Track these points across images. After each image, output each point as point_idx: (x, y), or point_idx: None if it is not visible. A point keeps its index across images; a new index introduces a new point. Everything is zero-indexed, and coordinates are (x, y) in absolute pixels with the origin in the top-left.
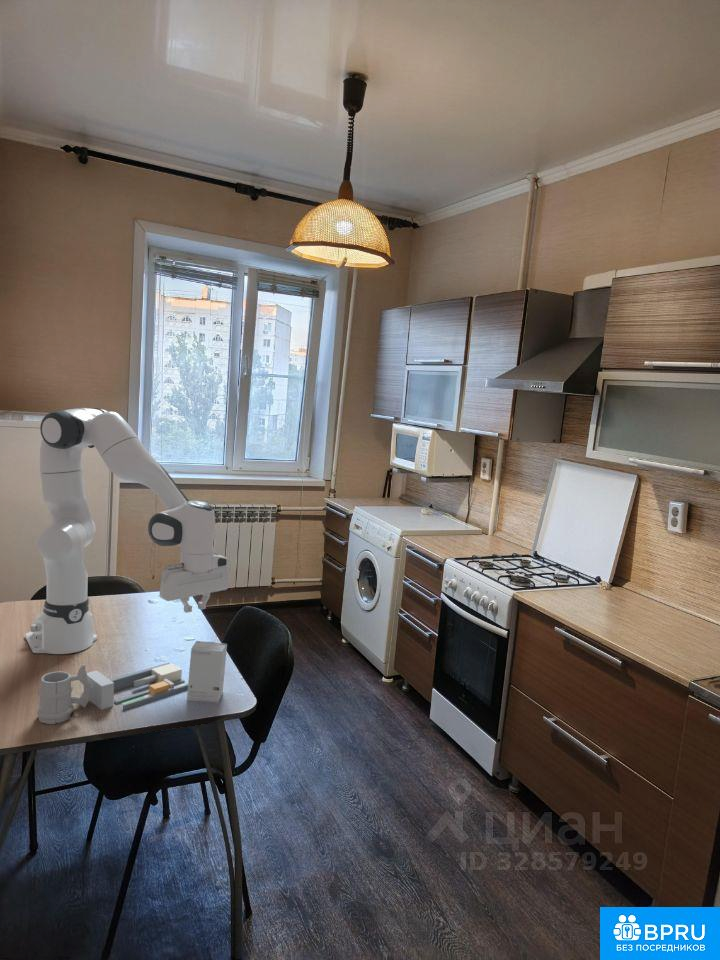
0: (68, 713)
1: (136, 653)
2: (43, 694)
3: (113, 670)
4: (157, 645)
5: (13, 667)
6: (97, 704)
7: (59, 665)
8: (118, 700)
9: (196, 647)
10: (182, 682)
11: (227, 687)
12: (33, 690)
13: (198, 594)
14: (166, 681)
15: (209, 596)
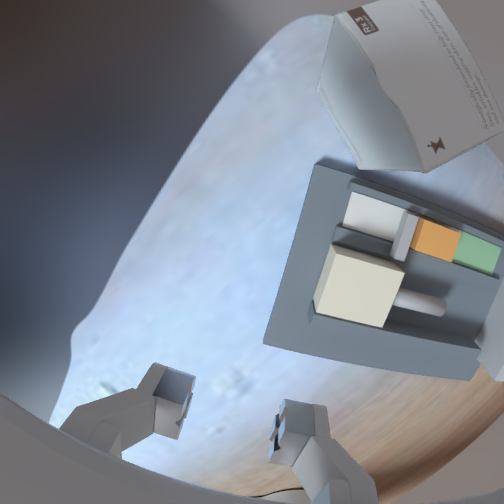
0: None
1: (246, 435)
2: None
3: (346, 415)
4: (183, 426)
5: (402, 492)
6: None
7: (371, 473)
8: (493, 282)
9: (491, 110)
10: (343, 228)
11: (257, 115)
12: (464, 428)
13: (233, 499)
14: (408, 243)
15: (81, 409)
